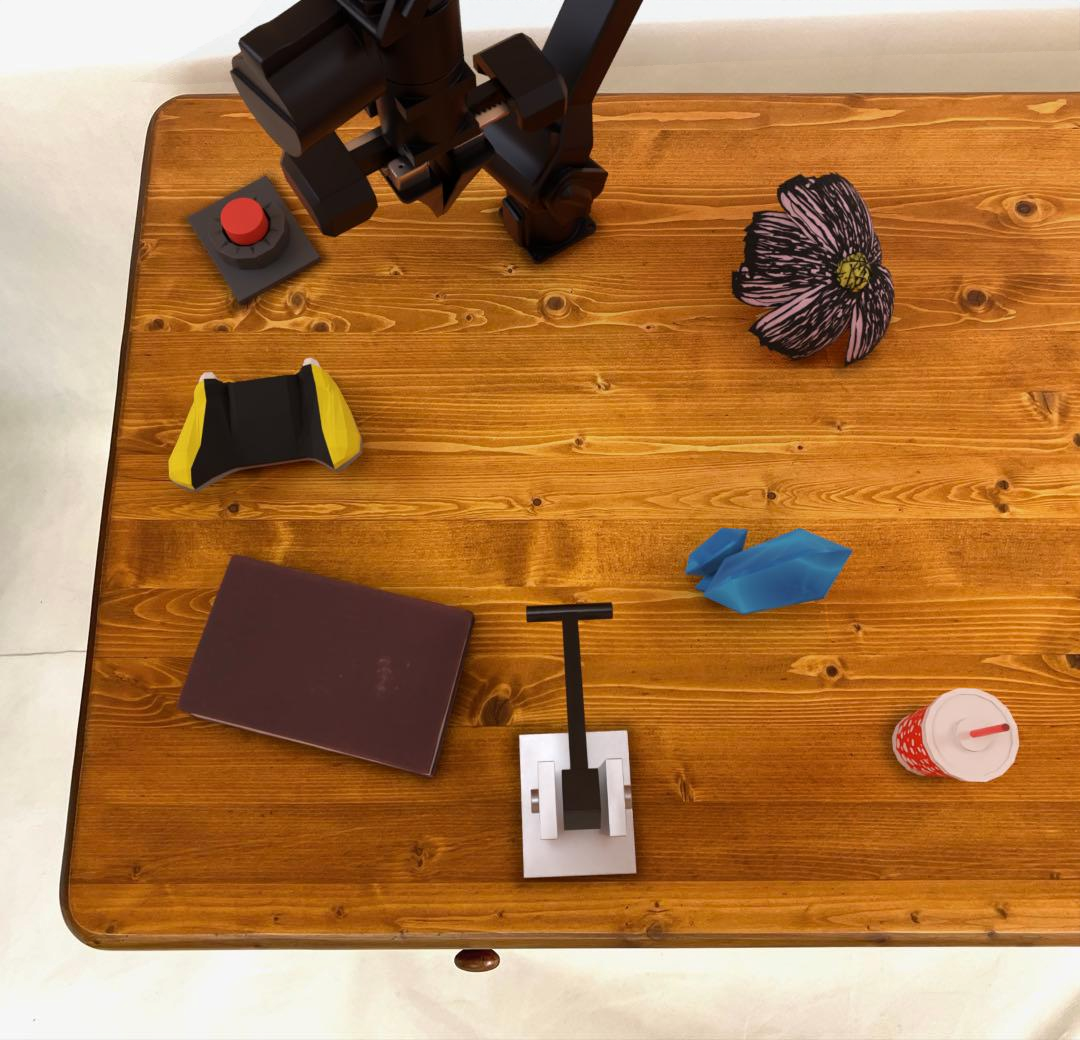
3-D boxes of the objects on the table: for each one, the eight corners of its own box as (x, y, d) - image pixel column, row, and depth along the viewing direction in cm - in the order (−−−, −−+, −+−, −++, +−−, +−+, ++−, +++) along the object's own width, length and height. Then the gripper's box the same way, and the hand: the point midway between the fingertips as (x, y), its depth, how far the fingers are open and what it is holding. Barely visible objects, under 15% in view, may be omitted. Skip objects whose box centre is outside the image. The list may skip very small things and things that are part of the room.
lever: (526, 617, 69) (525, 596, 68) (611, 614, 69) (612, 593, 68) (532, 832, 59) (530, 814, 57) (632, 828, 59) (634, 809, 57)
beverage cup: (968, 712, 73) (1060, 689, 60) (960, 795, 72) (1053, 789, 58) (886, 694, 74) (960, 666, 61) (876, 776, 72) (949, 766, 59)
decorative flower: (802, 364, 71) (759, 163, 71) (722, 394, 82) (685, 220, 82) (958, 337, 76) (918, 149, 76) (863, 369, 87) (828, 205, 87)
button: (219, 222, 84) (212, 210, 83) (256, 202, 85) (250, 190, 83) (238, 252, 84) (232, 241, 82) (276, 232, 84) (270, 220, 82)
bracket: (519, 735, 73) (510, 714, 58) (626, 731, 73) (644, 708, 58) (524, 877, 71) (516, 893, 55) (635, 872, 71) (656, 887, 55)
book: (243, 560, 78) (230, 549, 75) (477, 617, 76) (473, 609, 73) (189, 715, 74) (173, 711, 71) (433, 779, 73) (428, 777, 70)
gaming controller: (371, 483, 80) (360, 372, 82) (358, 459, 74) (347, 342, 77) (187, 510, 79) (182, 397, 82) (161, 488, 74) (156, 369, 77)
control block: (188, 222, 87) (178, 205, 85) (268, 179, 88) (260, 161, 86) (241, 305, 84) (232, 290, 82) (322, 261, 86) (315, 245, 83)
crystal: (669, 531, 71) (833, 479, 69) (681, 554, 79) (827, 509, 77) (699, 629, 69) (869, 579, 67) (708, 643, 77) (859, 598, 75)
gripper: (477, -105, 61) (488, 81, 76) (207, 21, 57) (273, 190, 72) (576, 14, 58) (567, 183, 73) (298, 155, 55) (347, 302, 69)
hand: (438, 210), depth 72 cm, fingers closed
